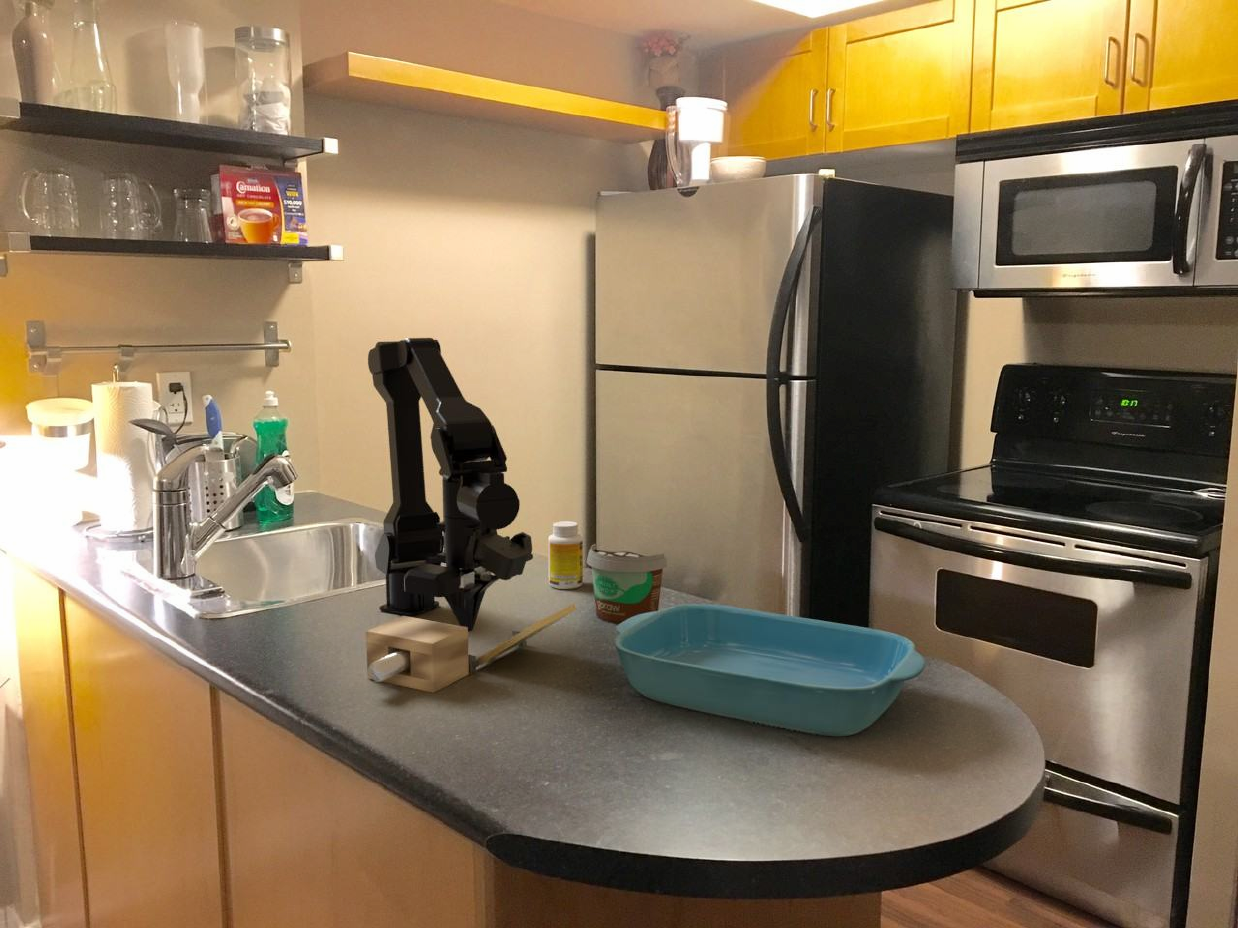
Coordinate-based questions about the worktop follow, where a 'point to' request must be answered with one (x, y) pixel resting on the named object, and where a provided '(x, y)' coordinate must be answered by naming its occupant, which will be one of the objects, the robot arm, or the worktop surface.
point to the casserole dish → (766, 666)
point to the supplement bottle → (565, 556)
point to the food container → (625, 583)
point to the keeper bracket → (473, 658)
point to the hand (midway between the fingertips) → (467, 631)
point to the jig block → (421, 651)
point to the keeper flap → (525, 635)
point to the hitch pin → (390, 665)
